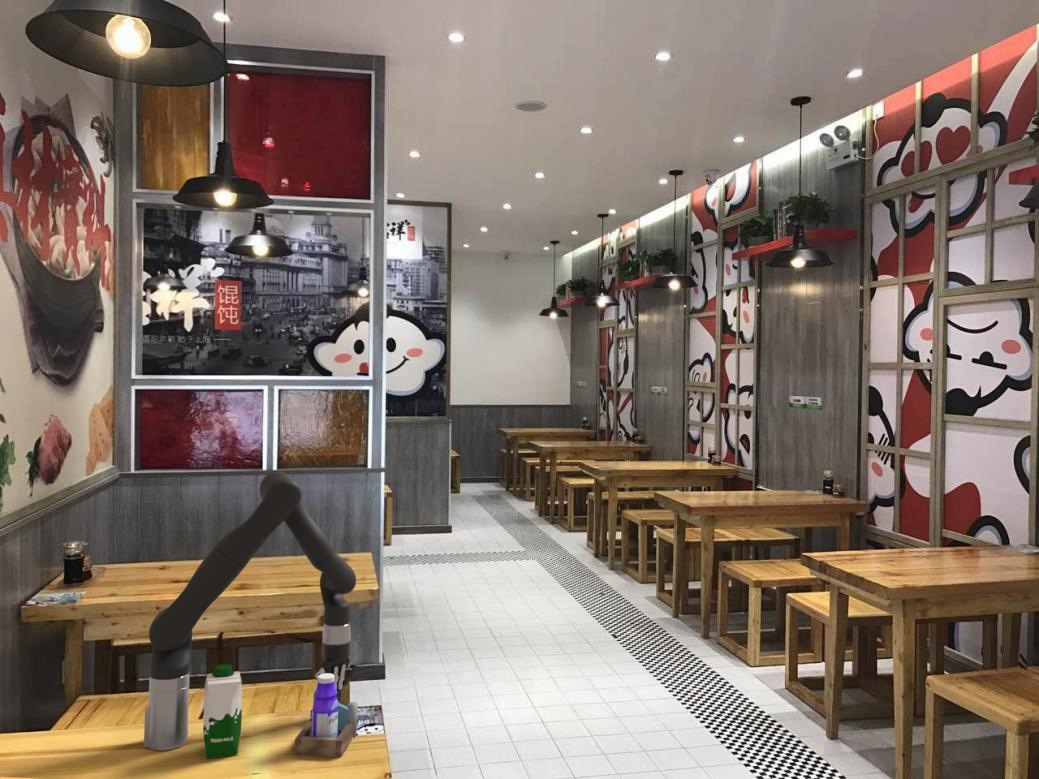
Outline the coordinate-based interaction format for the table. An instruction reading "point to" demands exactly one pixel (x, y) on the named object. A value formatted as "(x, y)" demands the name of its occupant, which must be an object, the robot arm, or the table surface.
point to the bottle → (325, 708)
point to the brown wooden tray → (322, 742)
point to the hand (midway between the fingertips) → (334, 702)
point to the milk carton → (222, 712)
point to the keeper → (347, 716)
